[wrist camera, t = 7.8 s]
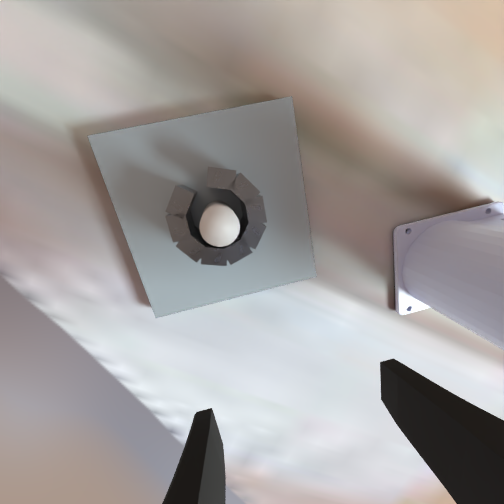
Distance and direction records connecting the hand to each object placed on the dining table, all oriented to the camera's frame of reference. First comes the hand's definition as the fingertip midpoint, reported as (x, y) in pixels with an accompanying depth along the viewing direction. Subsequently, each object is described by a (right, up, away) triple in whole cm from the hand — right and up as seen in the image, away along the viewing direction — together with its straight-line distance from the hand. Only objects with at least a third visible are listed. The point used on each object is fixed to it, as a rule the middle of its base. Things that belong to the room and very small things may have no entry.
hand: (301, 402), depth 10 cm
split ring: (-4, +9, +6) cm, 11 cm away
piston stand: (-4, +9, +7) cm, 12 cm away
